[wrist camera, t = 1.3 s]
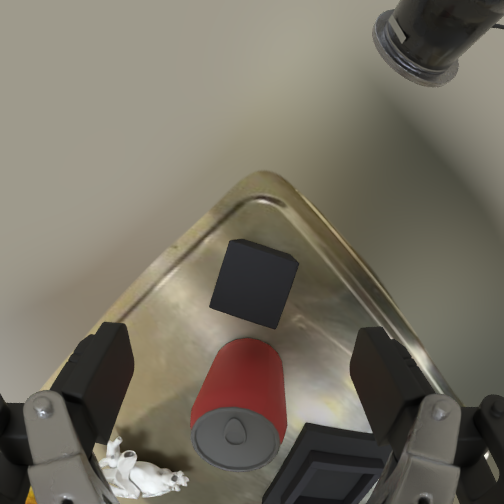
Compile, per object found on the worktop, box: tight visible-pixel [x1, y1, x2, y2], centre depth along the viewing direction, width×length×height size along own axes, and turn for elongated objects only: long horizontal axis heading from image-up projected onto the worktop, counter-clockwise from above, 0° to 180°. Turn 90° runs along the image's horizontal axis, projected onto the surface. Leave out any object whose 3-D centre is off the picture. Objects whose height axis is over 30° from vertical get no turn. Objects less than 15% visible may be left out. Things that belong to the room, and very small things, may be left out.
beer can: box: [190, 338, 287, 472], centre depth 22 cm, size 7×7×12 cm
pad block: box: [209, 239, 299, 329], centre depth 23 cm, size 5×5×8 cm
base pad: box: [262, 423, 393, 504], centre depth 26 cm, size 14×12×4 cm
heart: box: [99, 437, 190, 499], centre depth 27 cm, size 12×7×12 cm
